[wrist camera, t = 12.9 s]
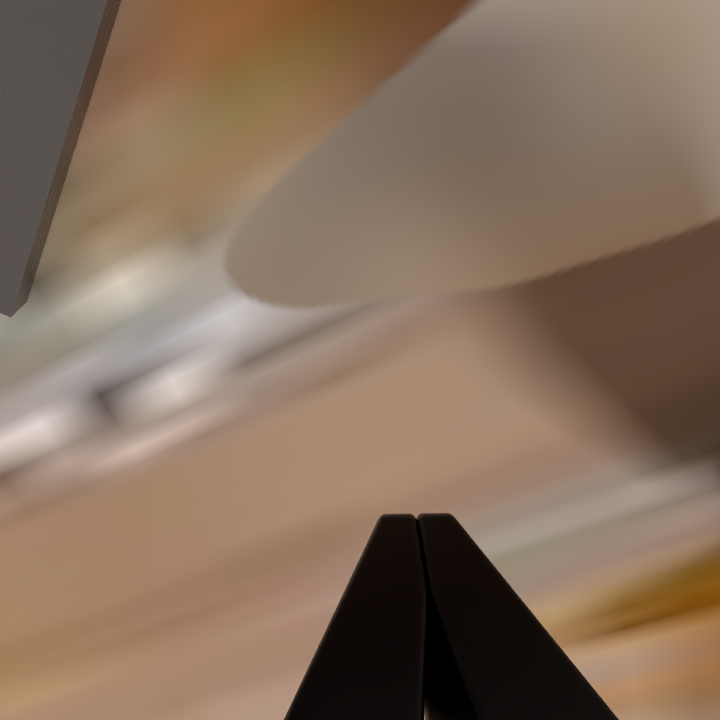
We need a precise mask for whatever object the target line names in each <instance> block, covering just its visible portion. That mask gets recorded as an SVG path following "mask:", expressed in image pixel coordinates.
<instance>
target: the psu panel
mask: <svg viewBox="0 0 720 720" xmlns="http://www.w3.org/2000/svg"><path fill="white" fill-rule="evenodd" d="M120 2H121V0H0V313H2V314H4V315H7V316H9V317H12V316H13V315H14V314H15V313H16V312H17V311H18V310H19V309H20V308H21V307H22V306H23V305H24V304H25V303H26V302H27V299H28V295H29V292H30V289H31V286H32V283H33V280H34V276H35V273H36V270H37V267H38V264H39V260H40V257H41V254H42V251H43V248H44V244H45V241H46V238H47V235H48V232H49V229H50V225H51V222H52V219H53V216H54V213H55V209H56V206H57V203H58V200H59V197H60V193H61V190H62V187H63V184H64V181H65V178H66V174H67V171H68V168H69V165H70V162H71V158H72V155H73V152H74V149H75V146H76V143H77V139H78V136H79V133H80V130H81V127H82V123H83V120H84V117H85V114H86V111H87V107H88V104H89V101H90V98H91V95H92V92H93V88H94V85H95V82H96V79H97V76H98V72H99V69H100V66H101V63H102V60H103V56H104V53H105V50H106V47H107V44H108V41H109V37H110V34H111V31H112V28H113V25H114V21H115V18H116V15H117V12H118V9H119V6H120Z"/></svg>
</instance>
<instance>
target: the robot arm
mask: <svg viewBox="0 0 720 720" xmlns="http://www.w3.org/2000/svg"><path fill="white" fill-rule="evenodd" d="M424 714H425V720H619V719H618V718H617V717H616V716H615V715H614V713H613V712H612V711H611V710H610V708H609V707H608V706H607V705H606V703H605V702H604V701H603V700H602V698H601V697H600V696H599V695H598V694H597V692H596V691H595V690H594V689H593V687H592V686H591V685H590V684H589V682H588V681H587V680H586V679H585V678H584V676H583V675H582V674H581V673H580V671H579V670H578V669H577V668H576V666H575V665H574V664H573V663H572V662H571V660H570V659H569V658H568V657H567V655H566V654H565V653H564V652H563V650H562V649H561V648H560V647H559V645H558V644H557V643H556V642H555V641H554V639H553V638H552V637H551V636H550V634H549V633H548V632H547V631H546V629H545V628H544V627H543V626H542V625H541V623H540V622H539V621H538V620H537V618H536V617H535V616H534V615H533V613H532V612H531V611H530V610H529V609H528V607H527V606H526V605H525V604H524V602H523V601H522V600H521V599H520V597H519V596H518V595H517V594H516V592H515V591H514V590H513V589H512V588H511V586H510V585H509V584H508V583H507V581H506V580H505V579H504V578H503V576H502V575H501V574H500V573H499V572H498V570H497V569H496V568H495V567H494V565H493V564H492V563H491V562H490V560H489V559H488V558H487V557H486V556H485V554H484V553H483V552H482V551H481V549H480V548H479V547H478V546H477V544H476V543H475V542H474V541H473V539H472V538H471V537H470V536H469V535H468V533H467V532H466V531H465V530H464V528H463V527H462V526H461V525H460V523H459V522H458V521H457V520H456V519H455V517H454V516H452V515H451V514H449V513H422V514H420V515H418V517H417V518H415V516H414V515H412V514H384V515H382V516H381V517H380V518H379V519H378V521H377V523H376V525H375V528H374V530H373V532H372V534H371V536H370V538H369V540H368V542H367V545H366V547H365V549H364V551H363V553H362V555H361V557H360V559H359V562H358V564H357V566H356V568H355V570H354V572H353V574H352V576H351V578H350V581H349V583H348V585H347V587H346V589H345V591H344V593H343V595H342V598H341V600H340V602H339V604H338V606H337V608H336V610H335V612H334V615H333V617H332V619H331V621H330V623H329V625H328V627H327V629H326V632H325V634H324V636H323V638H322V640H321V642H320V644H319V646H318V648H317V651H316V653H315V655H314V657H313V659H312V661H311V663H310V665H309V668H308V670H307V672H306V674H305V676H304V678H303V680H302V682H301V685H300V687H299V689H298V691H297V693H296V695H295V697H294V699H293V702H292V704H291V706H290V708H289V710H288V712H287V714H286V716H285V718H284V720H424Z"/></svg>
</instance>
